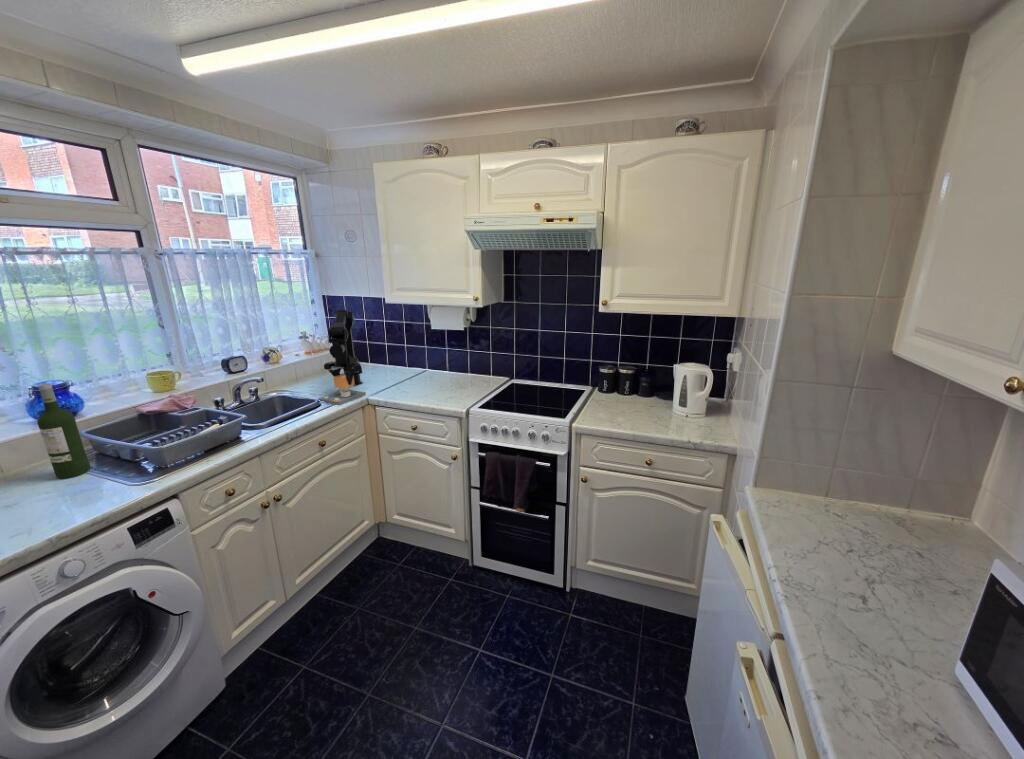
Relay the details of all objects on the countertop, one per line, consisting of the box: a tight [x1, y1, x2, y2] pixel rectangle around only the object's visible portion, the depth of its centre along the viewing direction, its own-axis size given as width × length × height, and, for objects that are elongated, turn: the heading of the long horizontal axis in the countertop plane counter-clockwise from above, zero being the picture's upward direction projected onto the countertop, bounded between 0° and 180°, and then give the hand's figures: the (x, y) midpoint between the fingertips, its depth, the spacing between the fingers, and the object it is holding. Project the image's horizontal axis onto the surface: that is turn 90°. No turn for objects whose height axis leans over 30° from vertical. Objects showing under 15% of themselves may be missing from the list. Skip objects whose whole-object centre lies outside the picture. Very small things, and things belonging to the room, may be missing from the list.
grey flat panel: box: [317, 389, 367, 406], centre depth 206 cm, size 17×14×2 cm
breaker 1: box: [338, 388, 349, 392], centre depth 210 cm, size 3×3×2 cm
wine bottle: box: [36, 383, 91, 480], centre depth 130 cm, size 8×8×30 cm
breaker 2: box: [341, 390, 351, 397], centre depth 203 cm, size 3×3×2 cm
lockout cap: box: [333, 372, 355, 389], centre depth 201 cm, size 6×6×6 cm
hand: (344, 383), depth 202 cm, fingers closed on lockout cap, 6 cm apart
